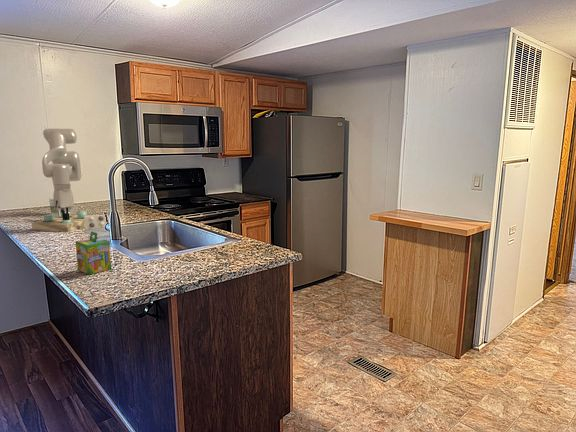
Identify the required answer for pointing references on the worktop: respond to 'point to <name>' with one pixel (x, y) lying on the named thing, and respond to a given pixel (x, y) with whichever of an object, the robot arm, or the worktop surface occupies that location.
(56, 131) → the robot arm
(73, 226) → the board
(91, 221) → the plaque
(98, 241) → the chalk box
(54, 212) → the syrup box
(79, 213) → the button
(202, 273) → the worktop surface
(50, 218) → the button
